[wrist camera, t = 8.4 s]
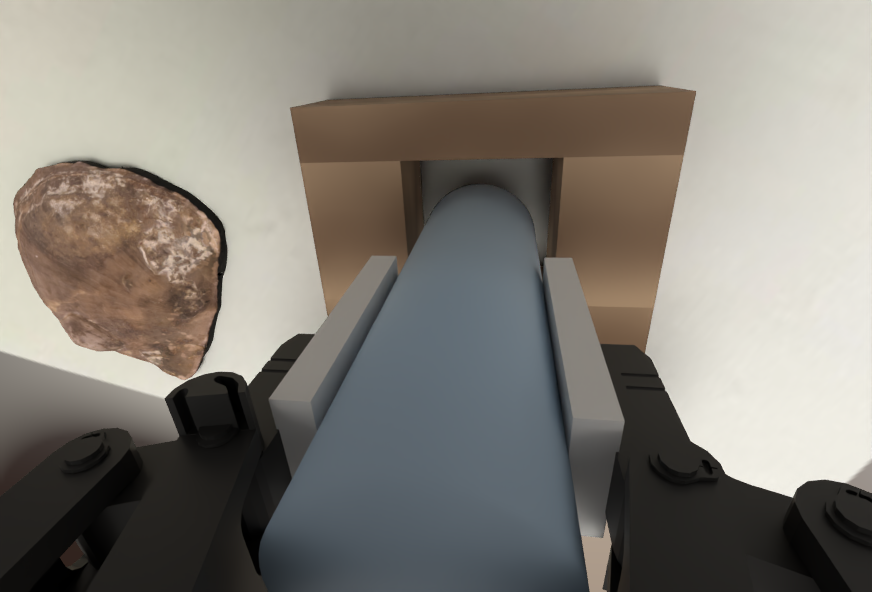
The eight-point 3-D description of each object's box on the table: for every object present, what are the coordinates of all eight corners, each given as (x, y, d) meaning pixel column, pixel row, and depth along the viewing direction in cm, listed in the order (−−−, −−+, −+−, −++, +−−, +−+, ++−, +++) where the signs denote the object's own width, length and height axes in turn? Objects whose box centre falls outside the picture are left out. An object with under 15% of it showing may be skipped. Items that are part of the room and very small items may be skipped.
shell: (36, 302, 29) (-22, 332, 26) (39, 113, 23) (-36, 121, 20) (203, 379, 30) (167, 417, 27) (248, 216, 24) (208, 240, 21)
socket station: (307, 100, 20) (-250, 208, 5) (686, 84, 18) (1556, 196, 3) (356, 403, 28) (186, 783, 13) (624, 419, 26) (778, 906, 11)
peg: (429, 286, 20) (292, 662, 7) (423, 184, 18) (221, 465, 5) (532, 288, 19) (574, 706, 7) (538, 183, 17) (613, 500, 5)
